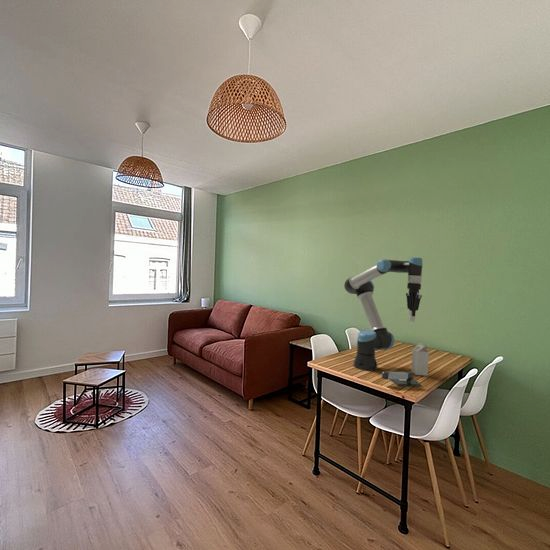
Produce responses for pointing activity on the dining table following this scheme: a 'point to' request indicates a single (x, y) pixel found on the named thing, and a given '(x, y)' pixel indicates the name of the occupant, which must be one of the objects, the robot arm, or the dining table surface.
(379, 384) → the dining table surface
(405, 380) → the plate
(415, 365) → the milk carton
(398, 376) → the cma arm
